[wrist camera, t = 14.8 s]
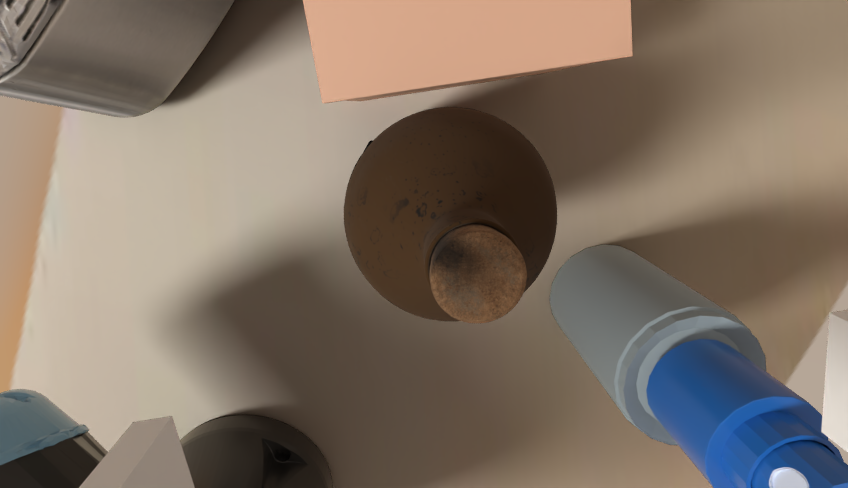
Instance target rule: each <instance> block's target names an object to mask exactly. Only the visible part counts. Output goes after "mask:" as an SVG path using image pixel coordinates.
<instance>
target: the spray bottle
mask: <svg viewBox="0 0 848 488" xmlns="http://www.w3.org/2000/svg"><path fill="white" fill-rule="evenodd" d="M550 305H551V310H552V315H553V316H554V318H555V320H556V321H557V323H558V325H559V327H560V328H561V329H562V331H563V332H564V334H565V335H566V336H567V338H568V339H569V340H570V342H571V343H572V345H573V346H574V347H575V349H576V350H577V351H578V353H579V354H580V356H581V357H582V358H583V360H584V361H585V363H586V364H587V365H588V367H589V368H590V369H591V371H592V372H593V374H594V375H595V376H596V378H597V379H598V380H599V382H600V383H601V385H602V386H603V387H604V389H605V390H606V392H607V393H608V394H609V396H610V397H611V398H612V400H613V401H614V403H615V404H616V405H617V407H618V408H619V409H620V411H621V412H622V414H623V415H624V416H625V418H626V419H627V420H628V421H629V422H631V423H632V424H633V425H634V426H635V427H637V428H638V429H639V430H640V431H642V432H644V433H645V434H646V435H647V436H649V437H650V438H652V439H655V440H657V441H660V442H663V443H666V444H669V445H679V446H680V447H681V449H682V450H683V451H684V452H685V454H686V455H687V456H688V457H689V458H690V460H691V461H692V462H693V463H694V464H695V466H696V467H697V468H698V469H699V471H700V472H701V473H702V474H703V475H704V477H705V478H706V479H707V480H708V482H709V483H710V484H711V485H712V486H713V488H848V465H847V464H846V463H844V462H843V459H842V456H841V454H840V452H839V450H838V449H837V448H836V447H835V446H834V445H833V444H832V443H831V442H830V441H828V437H827V436H826V435H825V434H823V433H822V432H821V429H822V415H821V414H820V413H819V412H818V411H817V410H816V409H815V408H814V407H813V406H811V405H810V404H809V403H808V402H807V401H805V400H804V399H803V398H801V397H800V396H798V395H797V394H796V393H794V392H793V391H792V390H790V389H789V388H787V387H786V386H785V385H783V384H782V383H781V382H779V381H778V380H776V379H775V378H774V377H772V376H771V375H770V374H768V373H767V372H766V360H765V355H764V353H763V351H762V348H761V346H760V344H759V342H758V340H757V338H756V337H755V336H754V335H752V333H751V331H750V330H749V329H748V328H747V327H746V326H745V325H744V324H743V323H742V322H741V321H740V320H739V319H738V318H737V317H736V316H734V315H733V314H731V313H729V312H728V311H726V310H725V309H723V308H721V307H720V306H718V305H717V304H715V303H714V302H712V301H710V300H709V299H707V298H706V297H704V296H702V295H701V294H699V293H698V292H696V291H695V290H693V289H691V288H690V287H688V286H687V285H685V284H683V283H682V282H680V281H679V280H677V279H676V278H674V277H672V276H671V275H669V274H668V273H666V272H664V271H663V270H661V269H660V268H658V267H656V266H655V265H653V264H652V263H650V262H649V261H647V260H645V259H644V258H642V257H641V256H639V255H637V254H636V253H634V252H633V251H630V250H628V249H625V248H623V247H621V246H617V245H598V246H594V247H590V248H586V249H584V250H582V251H580V252H579V253H577V254H575V255H573V256H572V257H570V259H569V260H568V261H567V262H566V263H565V264H564V265H563V266H562V267H561V268H560V269H559V271H558V273H557V275H556V277H555V279H554V281H553V283H552V287H551V293H550Z"/></svg>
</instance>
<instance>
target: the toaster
mask: <svg viewBox="0 0 848 488" xmlns="http://www.w3.org/2000/svg"><path fill="white" fill-rule="evenodd" d="M233 2H234V0H0V95H1V96H6V97H11V98H17V99H21V100H27V101H32V102H37V103H43V104H48V105H54V106H60V107H66V108H71V109H76V110H82V111H87V112H93V113H98V114H103V115H108V116H114V117H136V116H139V115H143V114H145V113H148V112H150V111H152V110H154V109H155V108H157V107H158V106H159V105H160V104H161V103H163V102H164V100H165V99H166V98H167V97H168V96H169V95H170V93H171V92H172V91H173V90H174V88H175V87H176V86H177V85H178V83H179V82H180V81H181V79H182V78H183V77H184V75H185V74H186V73H187V71H188V70H189V69H190V67H191V66H192V65H193V63H194V62H195V60H196V59H197V57H198V56H199V55H200V53H201V52H202V50H203V49H204V48H205V46H206V45H207V43H208V42H209V40H210V39H211V37H212V36H213V34H214V33H215V31H216V29H217V28H218V26H219V25H220V23H221V22H222V20H223V18H224V17H225V15H226V13H227V12H228V10H229V9H230V7H231V5H232V4H233Z"/></svg>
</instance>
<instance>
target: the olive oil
mask: <svg viewBox="0 0 848 488" xmlns="http://www.w3.org/2000/svg"><path fill="white" fill-rule="evenodd" d="M344 225H345V232H346V237H347V241H348V245H349V248H350V251H351V253H352V256H353V258H354V260H355V262H356V264H357V266H358V267H359V269H360V271H361V272H362V274H363V275H364V277H365V278H366V279H367V281H368V282H369V283H370V284H371V285H372V286H373V287H374V288H375V289H376V290H377V291H378V292H379V293H380V294H381V295H382V296H383V297H384V298H386V299H387V300H388V301H390V302H391V303H393V304H394V305H396V306H397V307H399V308H401V309H403V310H405V311H407V312H409V313H411V314H414V315H416V316H420V317H423V318H427V319H432V320H438V321H463V322H468V323H486V322H490V321H493V320H496V319H498V318H500V317H502V316H504V315H505V314H507V313H508V312H509V311H511V310H512V309H513V308H514V307H515V305H516V304H517V303H518V301H519V300H520V298H521V297H522V294H523V293H524V292H525V291H526V290H527V289H528V288H529V287H530V286H531V284H532V283H533V282H534V281H535V279H536V278H537V277H538V275H539V274H540V272H541V271H542V269H543V267H544V265H545V263H546V261H547V259H548V257H549V255H550V252H551V249H552V246H553V242H554V238H555V233H556V225H557V204H556V196H555V191H554V187H553V183H552V180H551V177H550V174H549V172H548V169H547V167H546V165H545V163H544V161H543V160H542V158H541V156H540V155H539V153H538V152H537V151H536V149H535V148H534V147H533V145H532V144H531V143H530V142H529V141H528V140H527V139H526V138H525V137H524V136H523V135H522V134H521V133H520V132H519V131H517V130H516V129H515V128H513V127H512V126H511V125H509V124H507V123H506V122H504V121H502V120H500V119H499V118H497V117H494V116H492V115H490V114H487V113H484V112H481V111H477V110H472V109H467V108H457V107H444V108H435V109H429V110H425V111H421V112H418V113H415V114H412V115H410V116H408V117H405V118H403V119H401V120H400V121H398V122H396V123H394V124H393V125H391V126H390V127H388V128H387V129H386V130H384V131H383V132H382V133H381V134H380V135H379V136H378V137H377V138H376V139H375V140H374V141H370V142H369V143H368V145H367V147H366V148H365V150H364V152H363V154H362V155H361V156H360V158H359V160H358V161H357V163H356V165H355V167H354V169H353V172H352V174H351V177H350V180H349V183H348V187H347V191H346V196H345V204H344Z"/></svg>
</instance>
